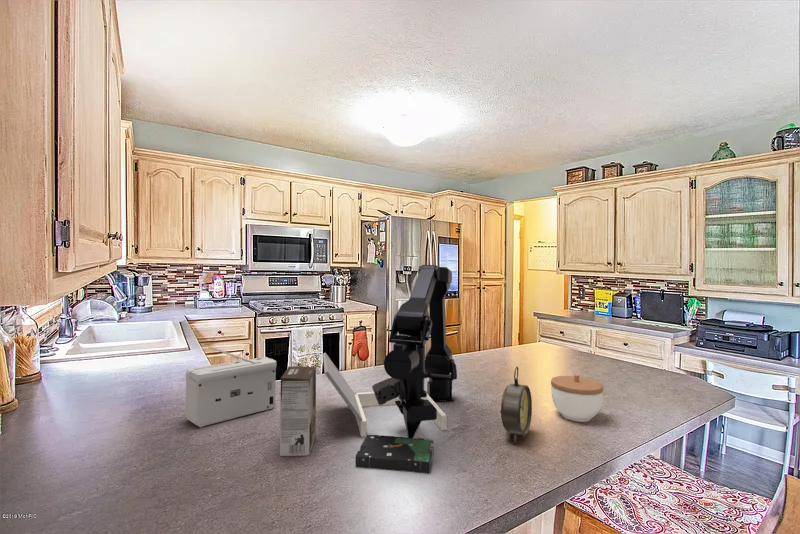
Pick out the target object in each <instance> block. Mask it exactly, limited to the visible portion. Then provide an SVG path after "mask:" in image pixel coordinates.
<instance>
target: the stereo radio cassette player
mask: <svg viewBox="0 0 800 534" xmlns="http://www.w3.org/2000/svg"><path fill="white" fill-rule="evenodd" d="M201 346H202V347H206V348H209V349H212V350H215V351H217V352H219V353H223V354H225V355H228V356H231V357H232V358H236V359H239V360H235V361H230V362H223V363H216V364H211V365H204V366H197V367H193V368H191V367H190V368H188V369H187V370H186V372H185V418H186V419H187V420H188V421H190V422H191V423H193V424H194V425H195V426H197V427H199V428H203V427H205V426H209V425H210V426H211V425H212V424H216V423H220V422H225V421H229V420H232V419H237V418H241V417H244V416H248V415H252V414H255V413H260V412H263V411H267V410H269V409H270V410H271V409H272V410H273V407H274V405H275V404H276V377H277V376H276V374H277V373H276V371H277V370H276V369H277V364H278V363H277V360H275V359H273V358H270V357H267V356H262V357H256V358H249V359H248V358H244V357H242V356H239V355H236V354H233V353H230V352H227V351H225V350H224V351H223V350H221V349H217V348H216V347H211V346H208V345H205V344H204V343H201Z"/></svg>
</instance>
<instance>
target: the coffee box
mask: <svg viewBox="0 0 800 534" xmlns="http://www.w3.org/2000/svg"><path fill="white" fill-rule="evenodd" d="M279 403H280V405H279V406H280V407H279V410H280V414H279V415H280V416H279V456H280V457H294V456H295V457H297V456H300V457H302V456H304V457H305V456H311V453H312V449H313V446H314V442H315V439H316V433H317V432H316V419H317V418H316V413H317V411H316V410H317V409H316V407H317V366H302V365H301V366H300V365H299V366H298V365H296V366H288V367H287V369H286V370H285V371H284V373H283V374H282V376H281V377H280V402H279Z"/></svg>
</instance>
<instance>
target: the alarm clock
mask: <svg viewBox="0 0 800 534" xmlns="http://www.w3.org/2000/svg"><path fill="white" fill-rule="evenodd" d="M513 373H514V374H513V381H514V383H509V384H508V385H507V386H506V387H505V388H504V390H503V392H502V396H501V403H500V418H501V423H502V427H503V429H504V430H505V431H506V432H505V433H506V434H507V433H509V434H513V442H512V443H513V445H516V444H517V439H518V435H519V436H526V435H527V434H528V432H529V431H530V428H531V423H532V417H533V416H532V415H533V413H532V412H533V400H532V394H531V390H530V388H529V386H528V385H527V384H519V378H518V377H519V367H518V366H517V365H516V366H515V368H514V372H513Z"/></svg>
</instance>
